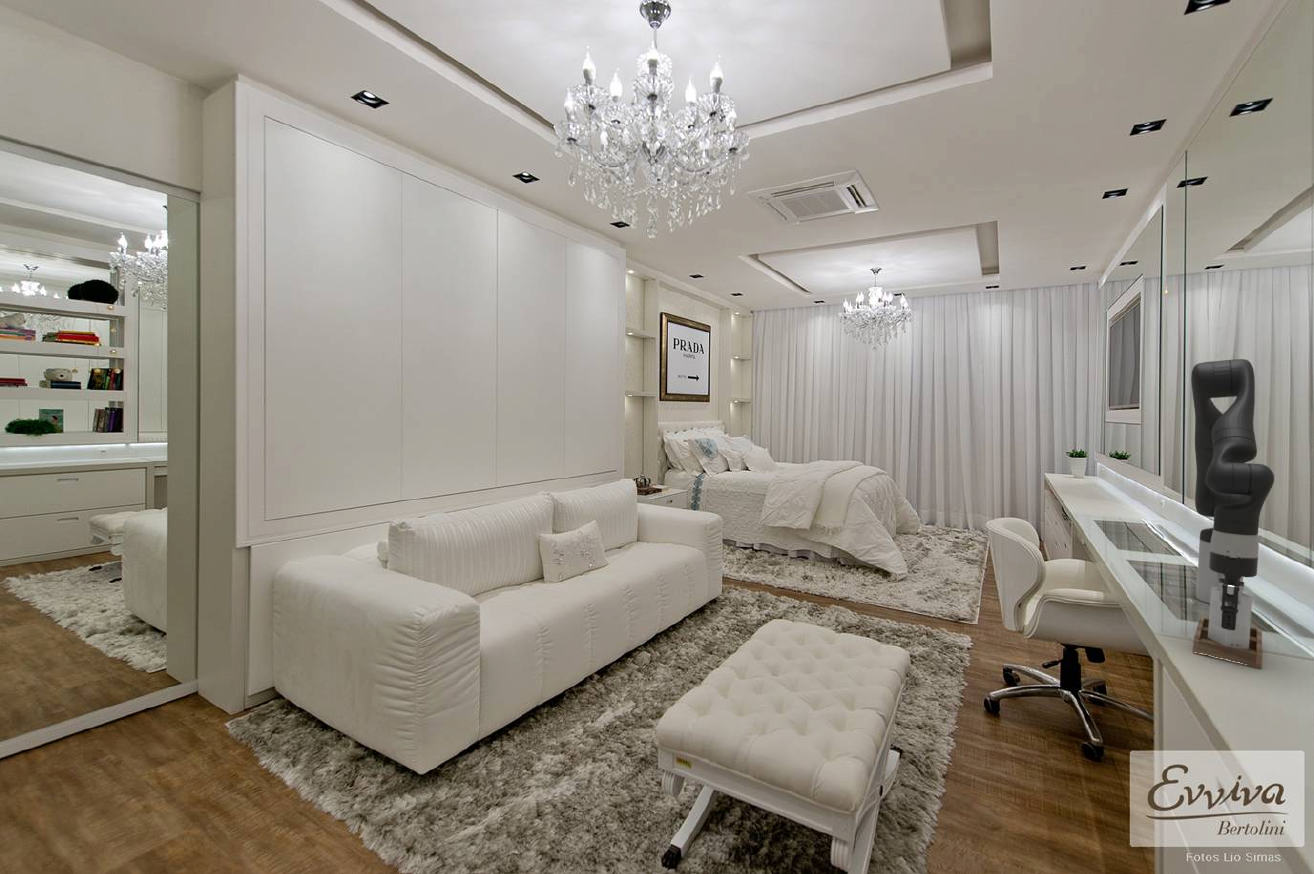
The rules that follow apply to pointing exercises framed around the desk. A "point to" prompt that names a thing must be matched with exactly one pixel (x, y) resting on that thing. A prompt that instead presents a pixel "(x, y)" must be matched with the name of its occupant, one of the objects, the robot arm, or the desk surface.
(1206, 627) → the wooden divided tray
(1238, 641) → the skincare box
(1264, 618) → the desk surface
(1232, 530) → the robot arm
